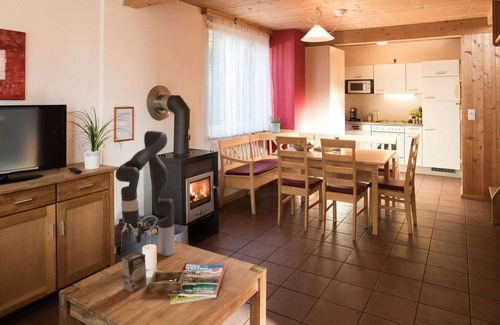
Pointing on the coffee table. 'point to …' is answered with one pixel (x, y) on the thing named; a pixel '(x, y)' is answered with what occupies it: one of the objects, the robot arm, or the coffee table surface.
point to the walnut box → (166, 281)
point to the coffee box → (134, 271)
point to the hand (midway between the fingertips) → (132, 240)
